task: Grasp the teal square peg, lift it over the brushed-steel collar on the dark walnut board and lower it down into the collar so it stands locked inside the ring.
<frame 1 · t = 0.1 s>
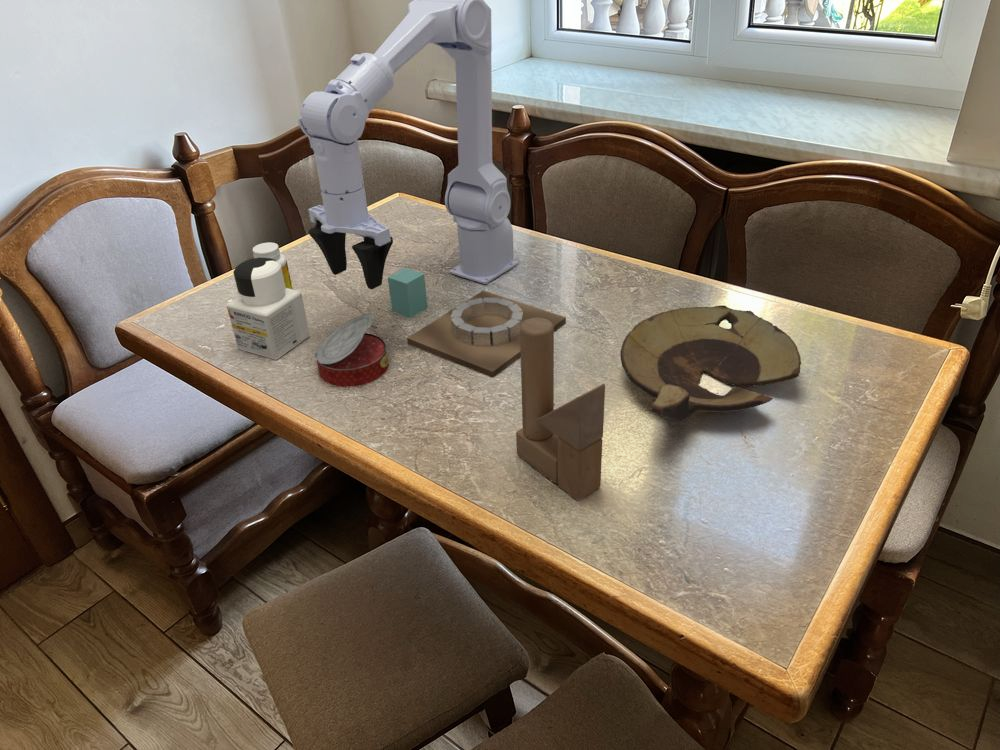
hand: (357, 279, 110), 10 cm above the table, tool pointing down, fingers open, 7 cm apart
walnut board: (487, 333, 116), on the table
supplement bottle: (278, 306, 126), on the table
canned food: (354, 369, 109), on the table
wooden block: (557, 472, 89), on the table
teal peg: (409, 309, 123), on the table
container: (274, 343, 116), on the table
steel collar: (487, 321, 114), on the walnut board, point 2 cm above the table
broken bowl: (690, 389, 102), on the table
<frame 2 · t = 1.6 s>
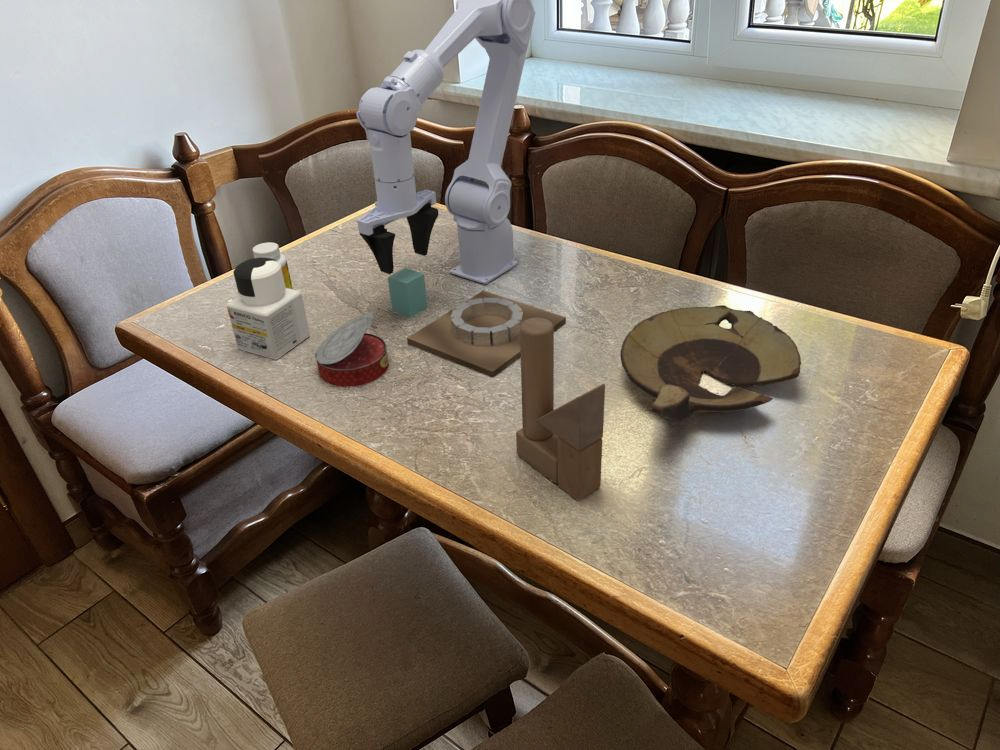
hand: (404, 262, 118), 8 cm above the table, tool pointing down, fingers open, 7 cm apart
nothing on the table moved.
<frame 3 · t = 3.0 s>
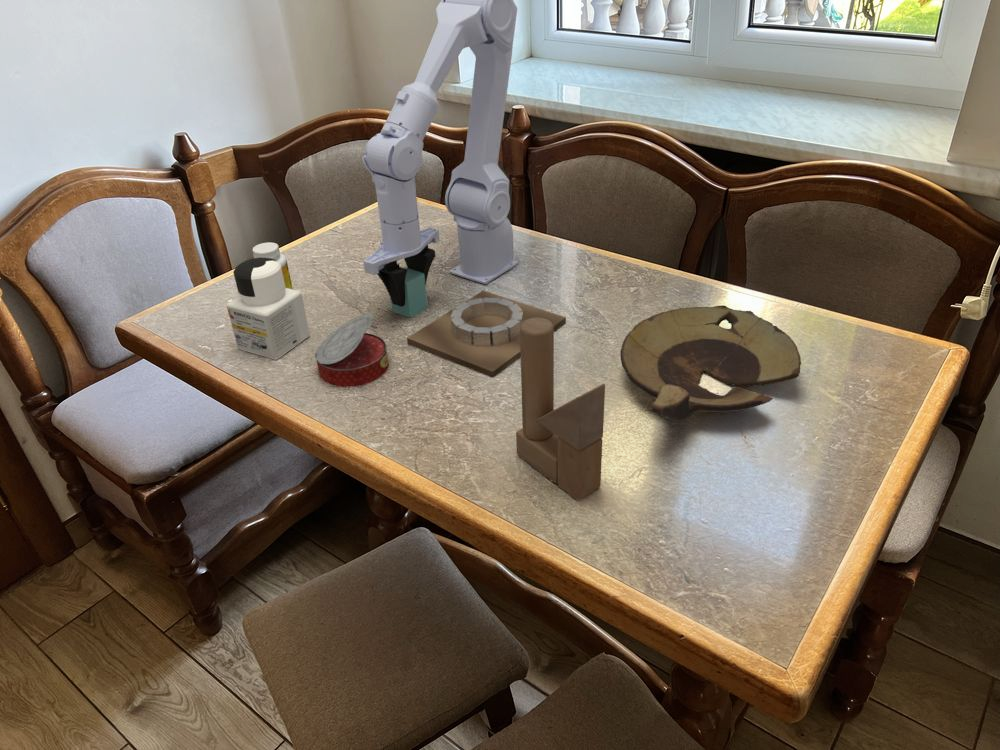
hand: (408, 298, 122), 2 cm above the table, tool pointing down, fingers closed on teal peg, 4 cm apart
teal peg: (409, 309, 123), on the table, touching gripper
everything else where it was.
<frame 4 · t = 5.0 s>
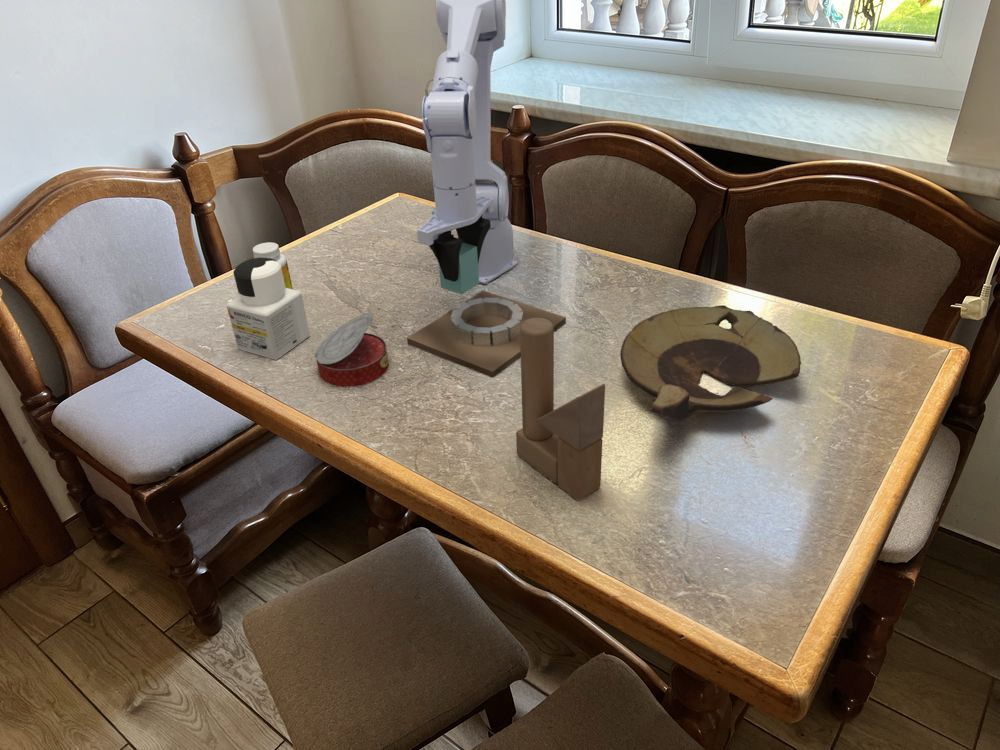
hand: (460, 273, 113), 9 cm above the table, tool pointing down, fingers closed on teal peg, 4 cm apart
teal peg: (460, 285, 114), point 7 cm above the table, touching gripper
everything else where it was.
when the fingers open (4 cm above the table, at t = 7.2 s): teal peg drops 1 cm, resting on walnut board.
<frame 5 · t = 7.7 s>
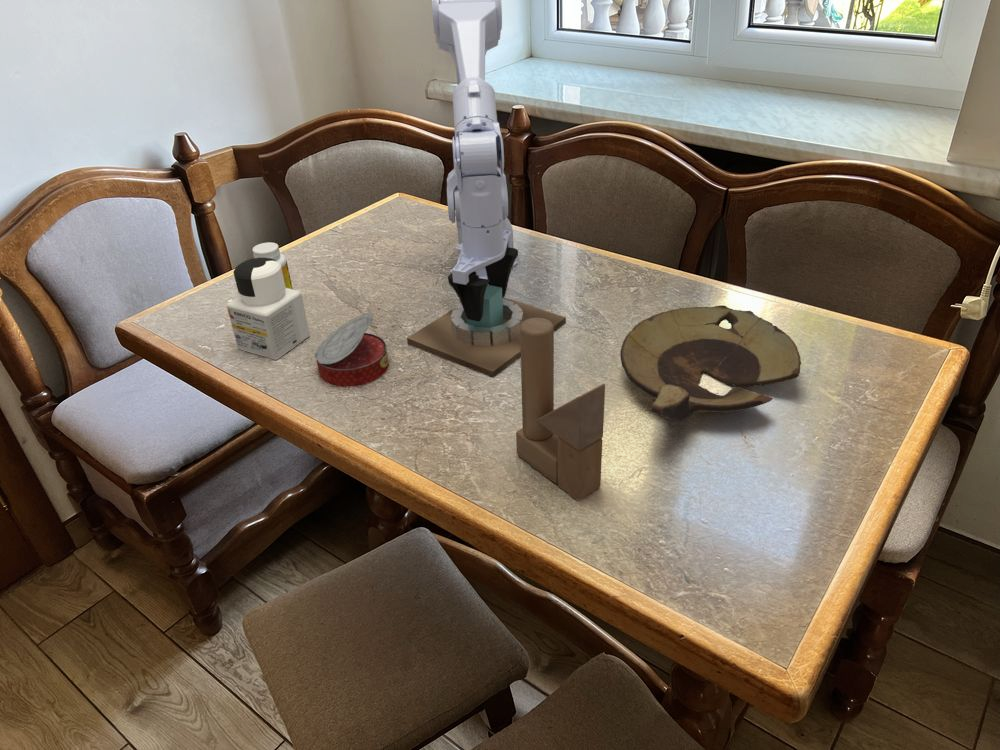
hand: (486, 307, 113), 4 cm above the table, tool pointing down, fingers open, 7 cm apart
teal peg: (485, 327, 115), point 1 cm above the table, touching walnut board
everything else where it was.
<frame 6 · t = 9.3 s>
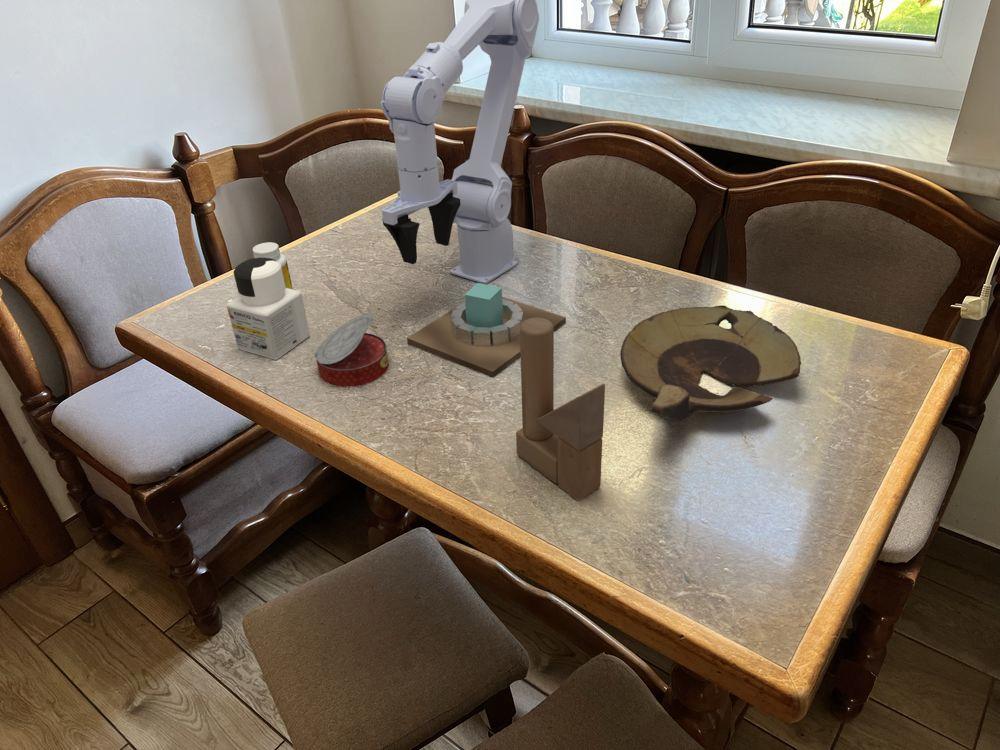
hand: (426, 252, 118), 9 cm above the table, tool pointing down, fingers open, 7 cm apart
nothing on the table moved.
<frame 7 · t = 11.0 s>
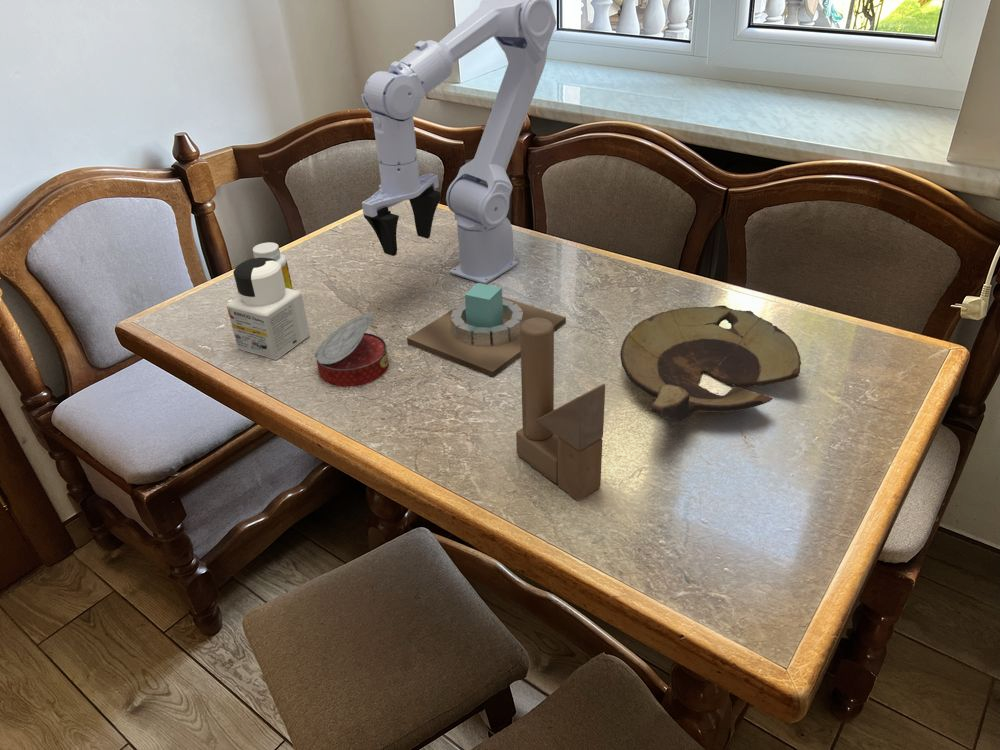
hand: (407, 245, 121), 9 cm above the table, tool pointing down, fingers open, 7 cm apart
nothing on the table moved.
at the end: teal peg 0.4 cm from the steel collar (horizontally); teal peg point 1.0 cm above the table; teal peg tilted 0° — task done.
